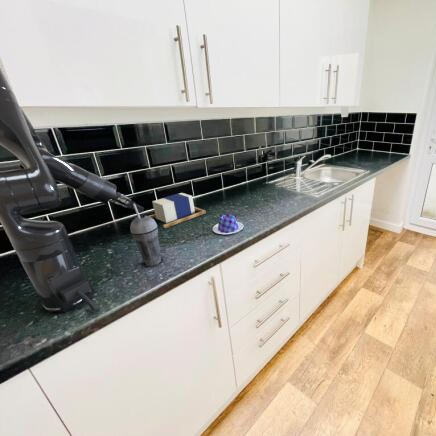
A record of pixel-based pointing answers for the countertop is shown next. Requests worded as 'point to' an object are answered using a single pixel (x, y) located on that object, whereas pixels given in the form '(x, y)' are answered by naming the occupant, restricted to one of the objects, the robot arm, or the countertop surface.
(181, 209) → the eraser
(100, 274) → the countertop surface
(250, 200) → the countertop surface
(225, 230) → the pudding
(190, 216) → the oak frame
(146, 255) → the beverage cup
